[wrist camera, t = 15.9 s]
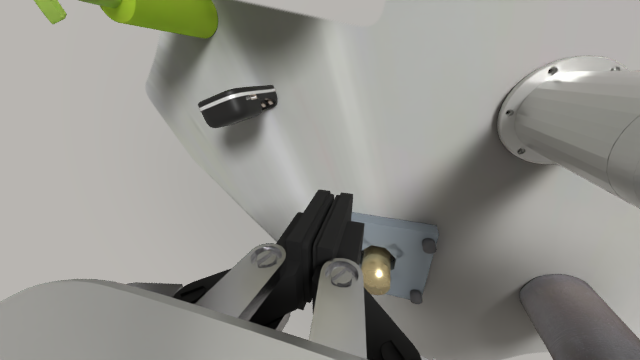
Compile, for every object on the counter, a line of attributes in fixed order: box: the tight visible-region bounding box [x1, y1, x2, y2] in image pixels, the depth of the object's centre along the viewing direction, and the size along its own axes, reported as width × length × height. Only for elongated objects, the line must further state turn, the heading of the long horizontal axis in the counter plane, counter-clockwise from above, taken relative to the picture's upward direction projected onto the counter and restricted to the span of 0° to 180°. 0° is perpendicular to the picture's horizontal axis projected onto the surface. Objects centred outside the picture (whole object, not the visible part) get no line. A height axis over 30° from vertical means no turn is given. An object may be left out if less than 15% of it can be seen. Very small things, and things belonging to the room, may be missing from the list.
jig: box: [351, 212, 439, 304], centre depth 43 cm, size 18×16×4 cm
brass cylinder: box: [361, 245, 391, 295], centre depth 41 cm, size 5×5×8 cm
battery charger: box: [198, 85, 277, 128], centre depth 34 cm, size 7×4×11 cm, turn 109°
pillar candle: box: [519, 274, 640, 360], centre depth 32 cm, size 10×10×15 cm
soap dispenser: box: [34, 0, 218, 38], centre depth 27 cm, size 6×7×20 cm
